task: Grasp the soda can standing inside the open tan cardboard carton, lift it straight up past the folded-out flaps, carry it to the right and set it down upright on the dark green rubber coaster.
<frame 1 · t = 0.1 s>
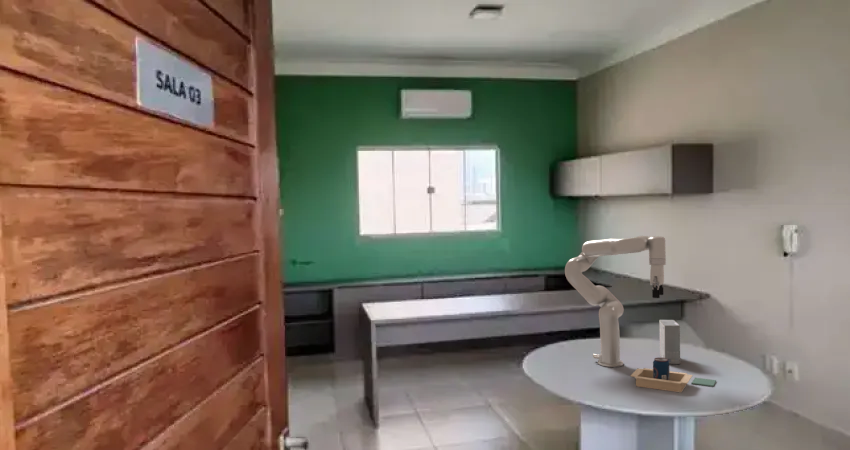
hand: (658, 296, 297), 37 cm above the table, tool pointing down, fingers open, 9 cm apart
hard drive box: (669, 360, 315), on the table
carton: (661, 385, 275), on the table
soda can: (661, 385, 275), resting in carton
coaster: (703, 382, 276), on the table
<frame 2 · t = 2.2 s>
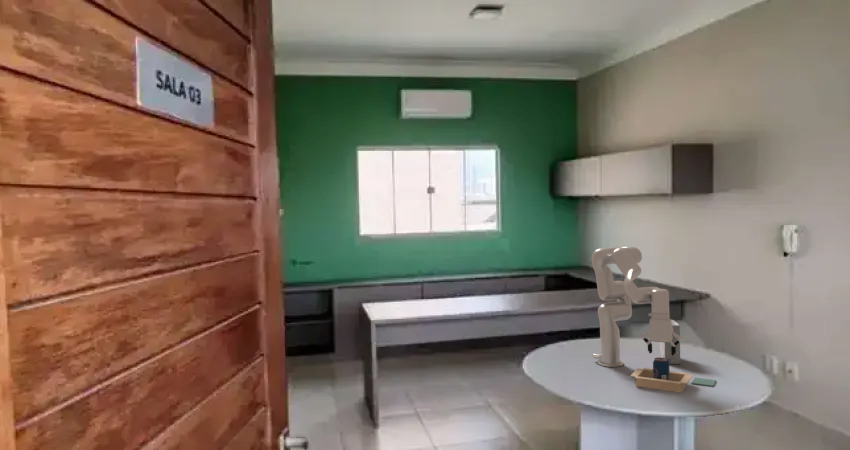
hand: (661, 353, 274), 15 cm above the table, tool pointing down, fingers open, 9 cm apart
nothing on the table moved.
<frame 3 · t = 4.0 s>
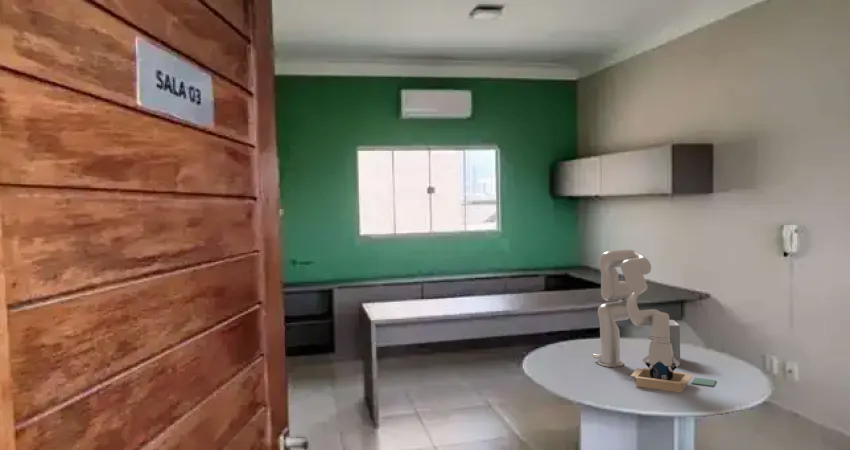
hand: (661, 378, 275), 3 cm above the table, tool pointing down, fingers closed on soda can, 7 cm apart
soda can: (661, 385, 275), resting in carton, touching gripper
everything else where it was.
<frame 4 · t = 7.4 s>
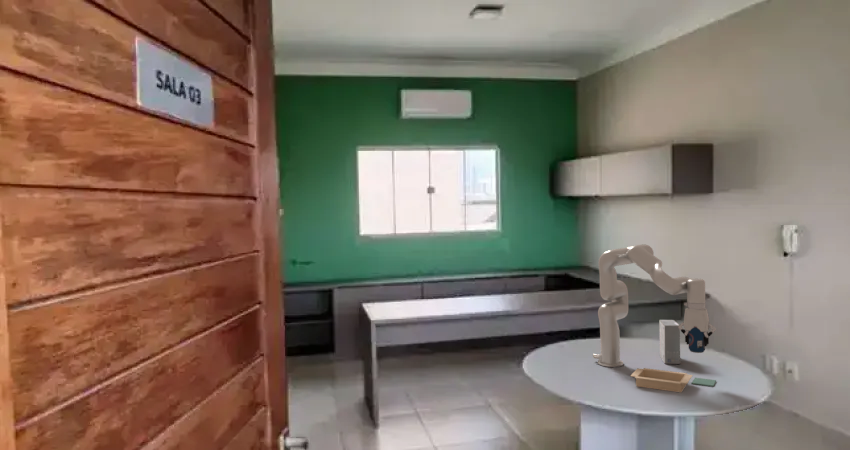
hand: (696, 344, 275), 18 cm above the table, tool pointing down, fingers closed on soda can, 7 cm apart
soda can: (696, 351, 275), point 15 cm above the table, touching gripper
everything else where it was.
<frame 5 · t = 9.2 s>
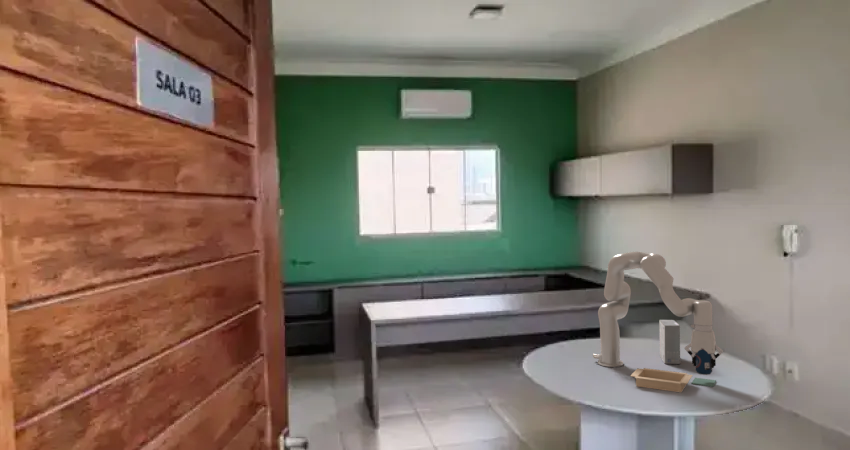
hand: (703, 366, 276), 8 cm above the table, tool pointing down, fingers closed on soda can, 7 cm apart
soda can: (703, 373, 276), point 4 cm above the table, touching gripper
everything else where it was.
when the fingers open (5 cm above the table, at t = 10.6 s): soda can drops 1 cm, resting on coaster.
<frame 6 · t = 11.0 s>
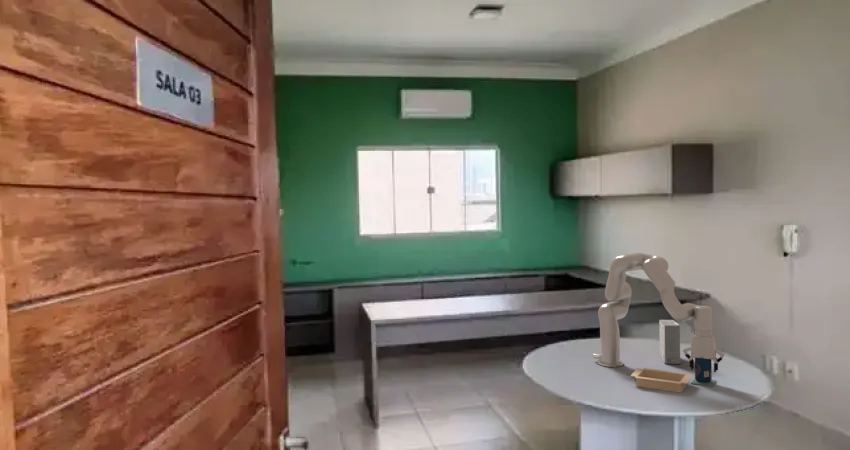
hand: (703, 370, 276), 6 cm above the table, tool pointing down, fingers open, 9 cm apart
soda can: (703, 381, 276), resting on coaster
everything else where it was.
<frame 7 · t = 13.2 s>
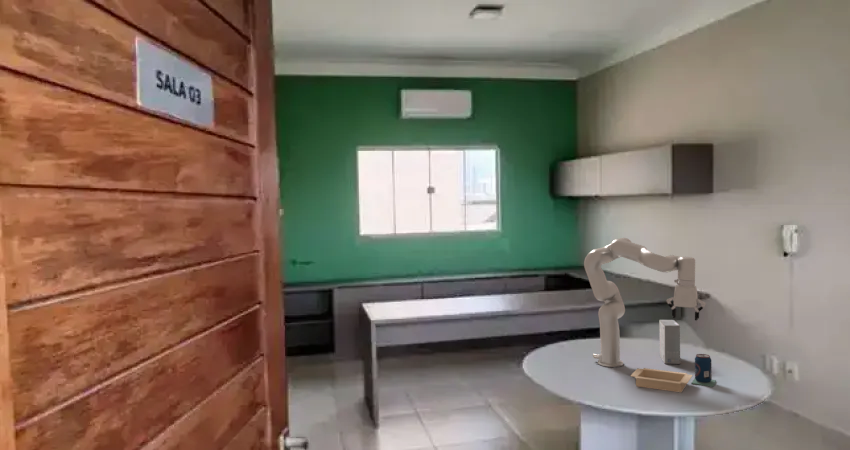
hand: (685, 318, 287), 27 cm above the table, tool pointing down, fingers open, 9 cm apart
nothing on the table moved.
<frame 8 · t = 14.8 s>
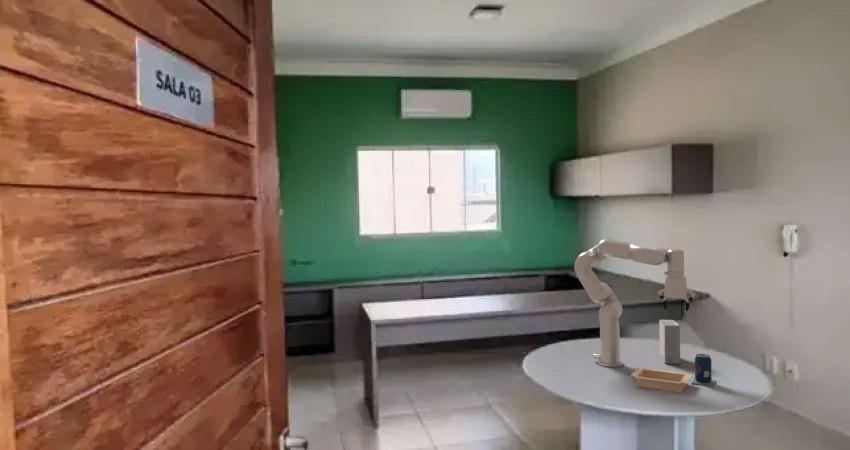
hand: (676, 309, 294), 30 cm above the table, tool pointing down, fingers open, 9 cm apart
nothing on the table moved.
at the end: soda can inside the target area on the coaster (0.2 cm from its centre), point 0.4 cm above the coaster's base; soda can tilted 0°; the gripper is holding nothing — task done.
